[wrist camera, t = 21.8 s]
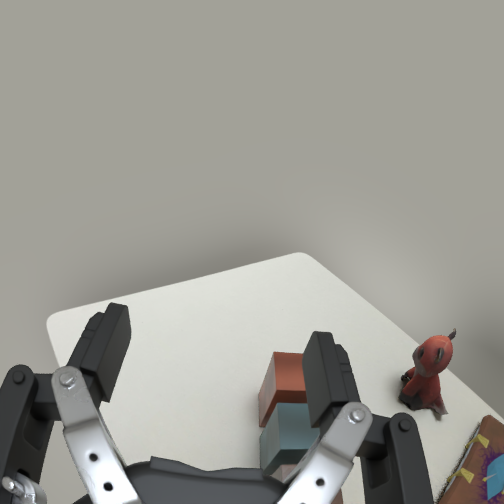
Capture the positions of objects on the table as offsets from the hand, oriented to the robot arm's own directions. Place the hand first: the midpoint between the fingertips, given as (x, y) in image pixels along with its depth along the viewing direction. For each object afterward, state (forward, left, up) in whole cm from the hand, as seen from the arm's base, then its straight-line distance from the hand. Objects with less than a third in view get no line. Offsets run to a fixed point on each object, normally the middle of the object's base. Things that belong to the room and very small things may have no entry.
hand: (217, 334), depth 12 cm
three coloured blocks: (+9, -3, -24) cm, 25 cm away
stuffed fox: (+30, -12, -24) cm, 40 cm away
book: (+22, -32, -24) cm, 46 cm away
